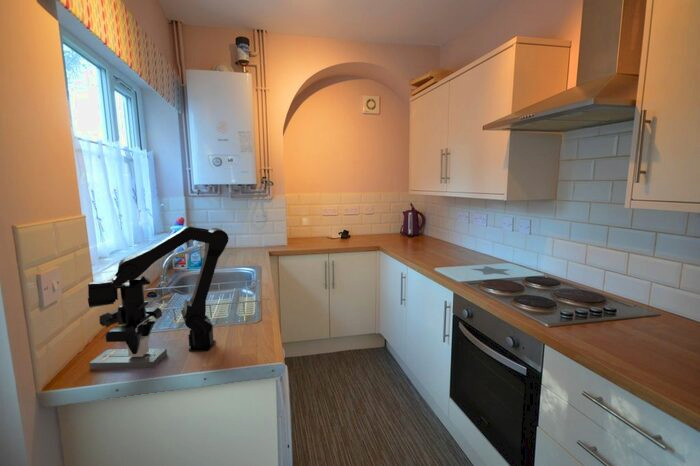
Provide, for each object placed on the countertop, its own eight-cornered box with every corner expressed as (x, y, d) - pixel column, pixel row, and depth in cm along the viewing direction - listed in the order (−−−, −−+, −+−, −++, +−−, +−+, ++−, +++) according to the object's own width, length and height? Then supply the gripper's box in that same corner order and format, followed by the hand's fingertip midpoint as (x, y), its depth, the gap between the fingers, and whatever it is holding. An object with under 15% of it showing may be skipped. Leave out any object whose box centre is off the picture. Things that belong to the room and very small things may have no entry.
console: (167, 354, 108) (166, 348, 108) (153, 368, 100) (152, 361, 100) (108, 355, 108) (107, 349, 108) (90, 369, 100) (89, 362, 100)
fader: (148, 350, 106) (147, 335, 105) (142, 356, 102) (140, 340, 101) (135, 351, 106) (134, 335, 105) (128, 356, 102) (126, 341, 101)
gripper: (125, 290, 110) (130, 337, 113) (81, 313, 92) (88, 367, 94) (160, 290, 111) (164, 336, 113) (124, 312, 92) (130, 367, 95)
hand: (138, 350), depth 104 cm, fingers closed on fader, 3 cm apart
